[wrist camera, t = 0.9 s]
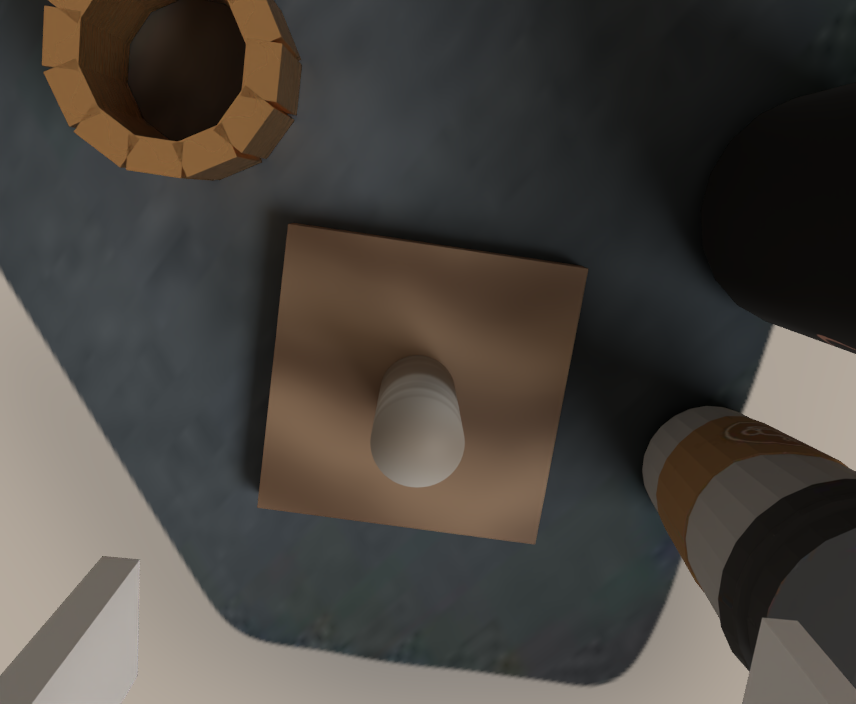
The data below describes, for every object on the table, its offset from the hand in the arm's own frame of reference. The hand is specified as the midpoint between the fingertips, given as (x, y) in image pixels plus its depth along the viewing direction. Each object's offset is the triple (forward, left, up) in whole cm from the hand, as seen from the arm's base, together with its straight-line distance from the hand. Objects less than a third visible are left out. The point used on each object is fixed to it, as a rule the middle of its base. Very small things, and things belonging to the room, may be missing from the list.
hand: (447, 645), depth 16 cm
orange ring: (-13, -13, -22) cm, 28 cm away
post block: (0, -1, -22) cm, 22 cm away
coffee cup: (+2, +14, -22) cm, 26 cm away
